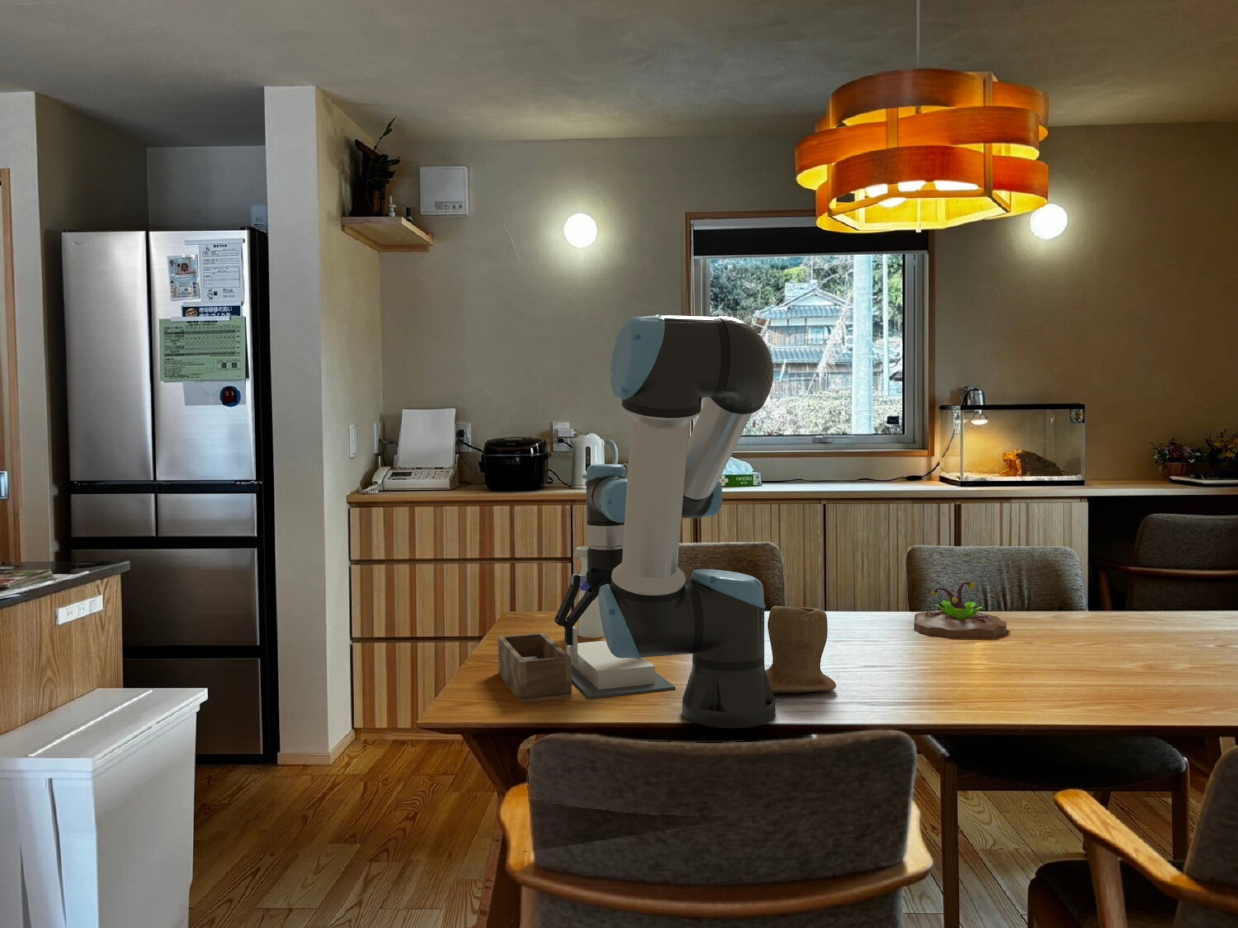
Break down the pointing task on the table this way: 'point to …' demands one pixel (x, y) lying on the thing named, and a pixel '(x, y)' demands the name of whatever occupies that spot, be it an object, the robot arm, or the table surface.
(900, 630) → the table surface
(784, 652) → the brown suede boot shape
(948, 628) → the plant
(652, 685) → the rubber mat
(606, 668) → the lid
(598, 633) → the water bottle
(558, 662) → the walnut box
